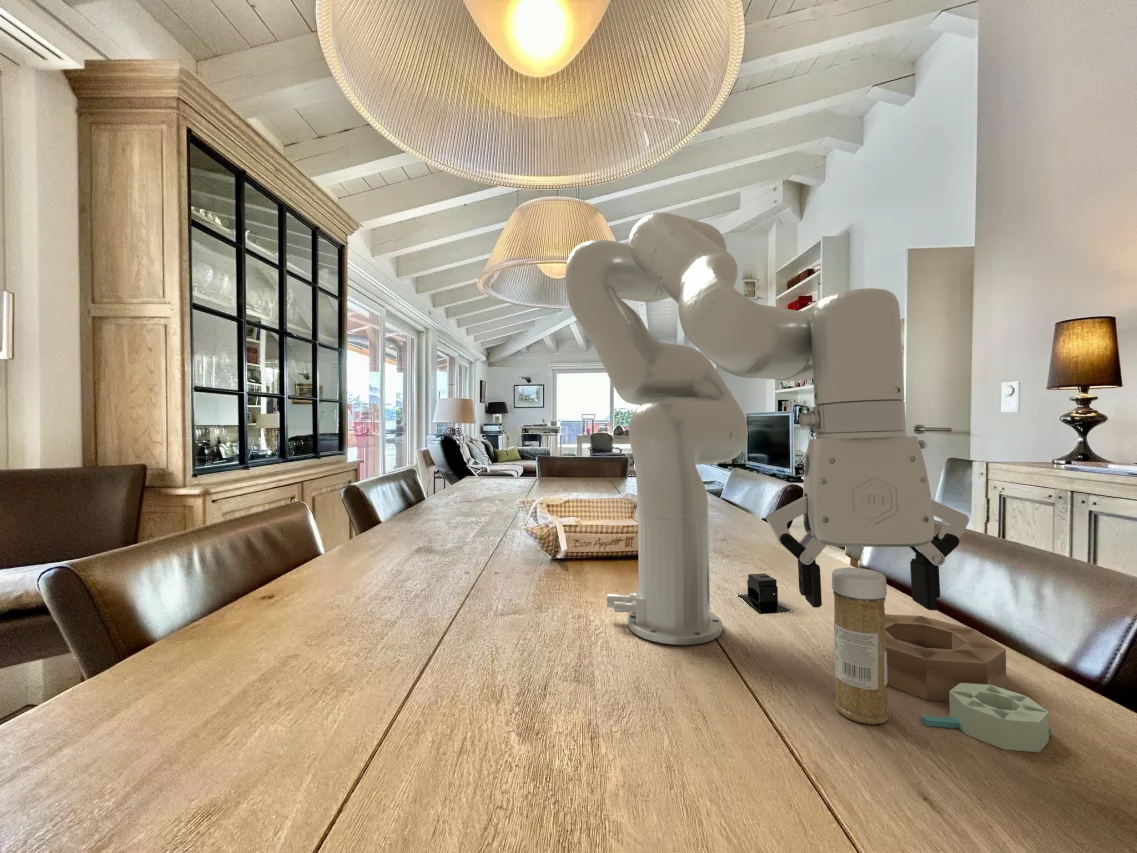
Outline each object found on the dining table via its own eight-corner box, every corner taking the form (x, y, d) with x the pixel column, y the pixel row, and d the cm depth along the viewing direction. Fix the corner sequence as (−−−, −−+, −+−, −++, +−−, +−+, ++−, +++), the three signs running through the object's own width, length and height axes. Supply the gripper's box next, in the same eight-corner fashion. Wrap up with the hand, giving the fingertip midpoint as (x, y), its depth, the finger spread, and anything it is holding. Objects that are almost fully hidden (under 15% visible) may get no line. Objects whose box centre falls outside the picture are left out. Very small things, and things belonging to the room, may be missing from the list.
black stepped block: (806, 619, 75) (805, 588, 75) (757, 622, 75) (757, 590, 75) (764, 592, 88) (764, 565, 88) (723, 594, 87) (722, 567, 87)
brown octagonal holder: (885, 696, 53) (884, 657, 53) (841, 644, 65) (840, 612, 65) (1032, 707, 50) (1031, 666, 50) (956, 650, 63) (956, 617, 63)
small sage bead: (978, 747, 44) (978, 717, 44) (939, 707, 51) (938, 681, 51) (1065, 754, 43) (1065, 724, 43) (1014, 712, 49) (1013, 686, 49)
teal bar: (925, 725, 47) (925, 720, 47) (921, 720, 48) (921, 715, 48) (1051, 735, 46) (1051, 729, 46) (1045, 730, 46) (1045, 724, 46)
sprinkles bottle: (897, 716, 49) (895, 573, 49) (873, 732, 47) (871, 582, 47) (849, 695, 53) (847, 563, 53) (824, 709, 50) (822, 570, 50)
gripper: (771, 425, 47) (779, 615, 47) (984, 417, 44) (996, 620, 44) (756, 427, 55) (763, 591, 54) (938, 421, 52) (948, 594, 51)
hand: (867, 604), depth 49 cm, fingers open, 9 cm apart
